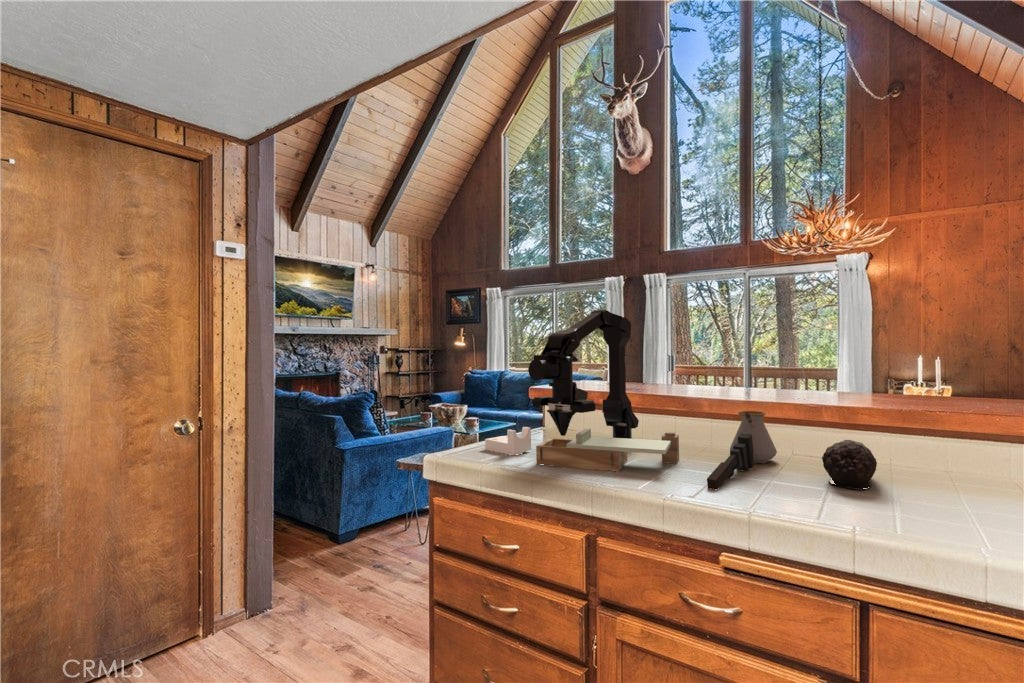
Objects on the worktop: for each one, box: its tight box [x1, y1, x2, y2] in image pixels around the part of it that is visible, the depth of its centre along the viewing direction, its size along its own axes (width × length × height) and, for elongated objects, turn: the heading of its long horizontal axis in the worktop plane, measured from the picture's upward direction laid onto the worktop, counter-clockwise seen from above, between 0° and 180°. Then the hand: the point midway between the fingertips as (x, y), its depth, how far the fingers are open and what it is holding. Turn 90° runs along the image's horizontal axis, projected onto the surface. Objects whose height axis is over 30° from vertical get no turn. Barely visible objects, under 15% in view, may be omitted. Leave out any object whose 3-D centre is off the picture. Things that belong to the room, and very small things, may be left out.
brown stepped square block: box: [661, 431, 680, 464], centre depth 142 cm, size 4×4×8 cm
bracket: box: [484, 426, 532, 456], centre depth 160 cm, size 13×7×8 cm, turn 42°
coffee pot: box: [729, 410, 778, 464], centre depth 137 cm, size 21×12×15 cm, turn 151°
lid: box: [567, 428, 671, 455], centre depth 139 cm, size 12×25×3 cm, turn 67°
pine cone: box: [821, 439, 878, 491], centre depth 120 cm, size 10×18×10 cm, turn 151°
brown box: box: [535, 437, 628, 472], centre depth 142 cm, size 13×22×5 cm, turn 67°
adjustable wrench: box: [706, 434, 754, 490], centre depth 125 cm, size 8×3×25 cm
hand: (563, 435), depth 144 cm, fingers closed
